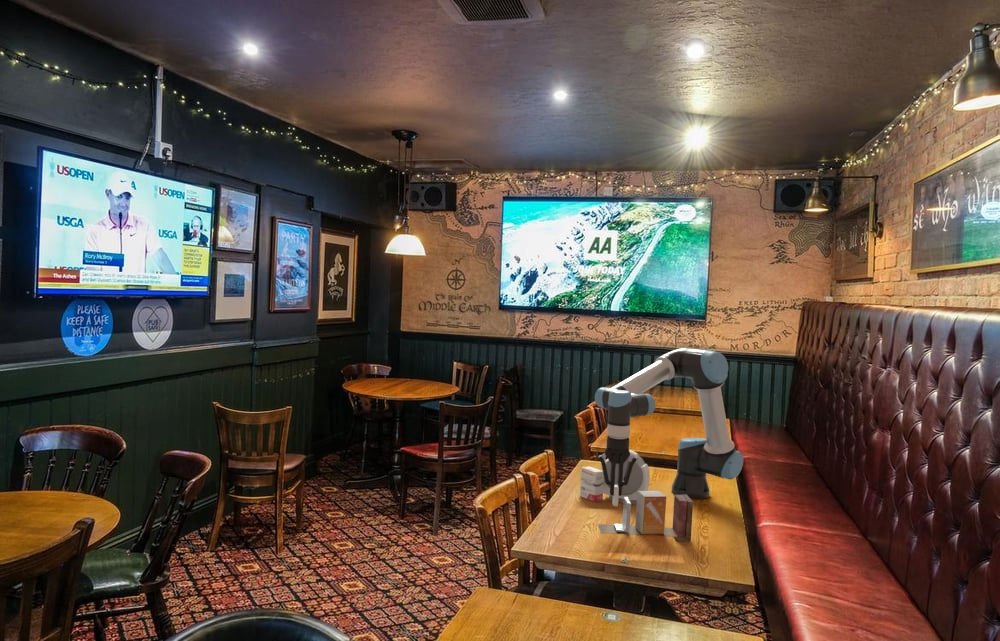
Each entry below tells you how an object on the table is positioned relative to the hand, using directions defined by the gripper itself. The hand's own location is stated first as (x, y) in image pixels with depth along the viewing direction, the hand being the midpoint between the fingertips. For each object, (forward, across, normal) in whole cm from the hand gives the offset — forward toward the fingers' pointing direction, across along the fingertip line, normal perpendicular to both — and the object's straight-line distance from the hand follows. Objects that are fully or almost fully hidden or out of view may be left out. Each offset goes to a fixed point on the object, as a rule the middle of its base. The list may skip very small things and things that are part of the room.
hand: (615, 504), depth 221 cm
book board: (+10, -10, 0) cm, 14 cm away
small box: (+9, -12, 0) cm, 15 cm away
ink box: (+11, +3, -37) cm, 38 cm away
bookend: (+8, -2, 0) cm, 8 cm away
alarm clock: (+11, -10, -36) cm, 38 cm away
